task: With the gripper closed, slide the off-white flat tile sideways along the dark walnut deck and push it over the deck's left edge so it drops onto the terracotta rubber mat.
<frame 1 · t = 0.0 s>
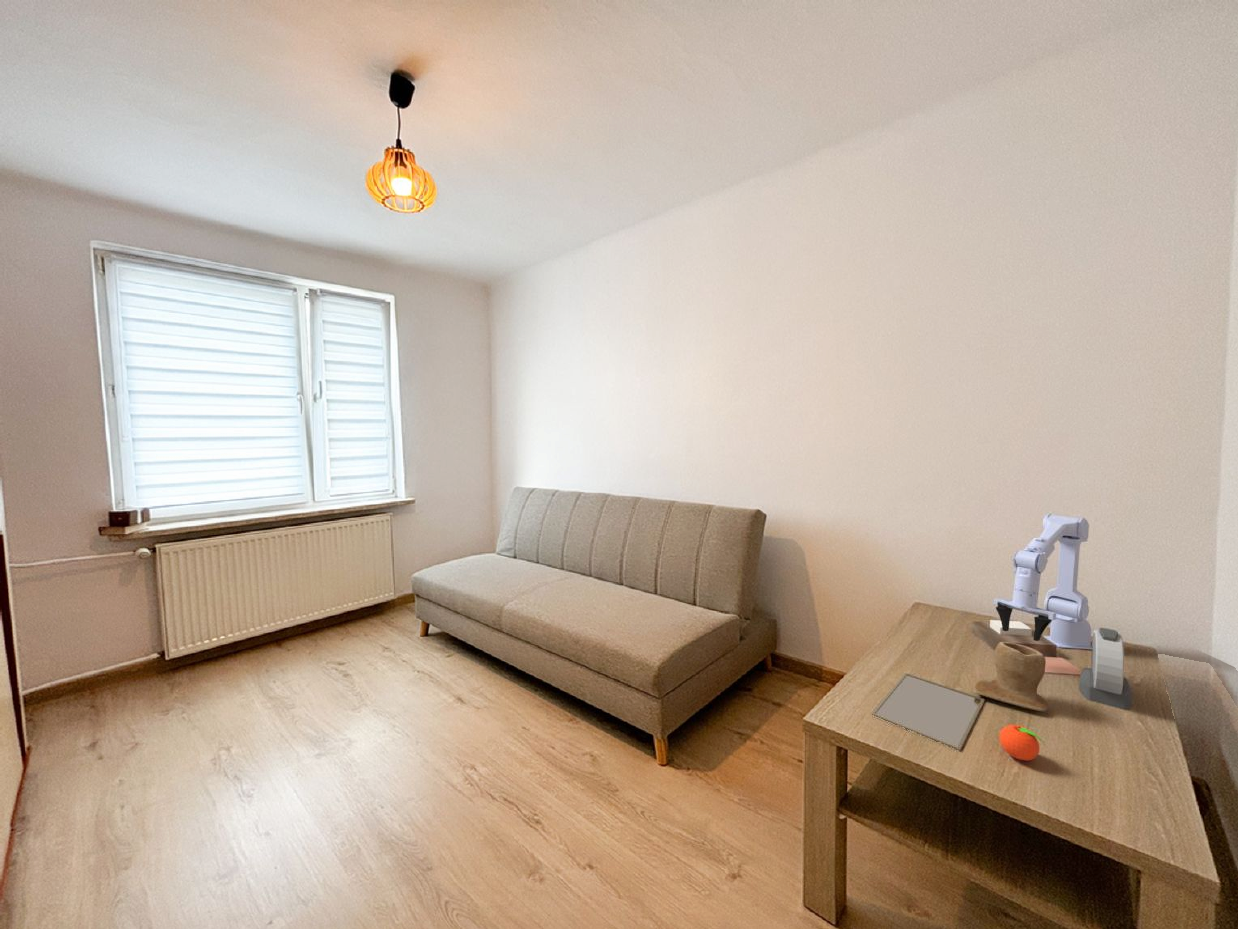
hand: (1020, 635, 142), 11 cm above the table, tool pointing down, fingers open, 7 cm apart
mat: (1039, 664, 144), on the table
picture frame: (928, 710, 125), on the table
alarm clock: (1104, 695, 128), on the table
clementine: (1021, 758, 106), on the table
tile: (1010, 631, 159), point 4 cm above the table, touching deck
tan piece: (1009, 699, 128), on the table
deck: (1011, 644, 158), on the table
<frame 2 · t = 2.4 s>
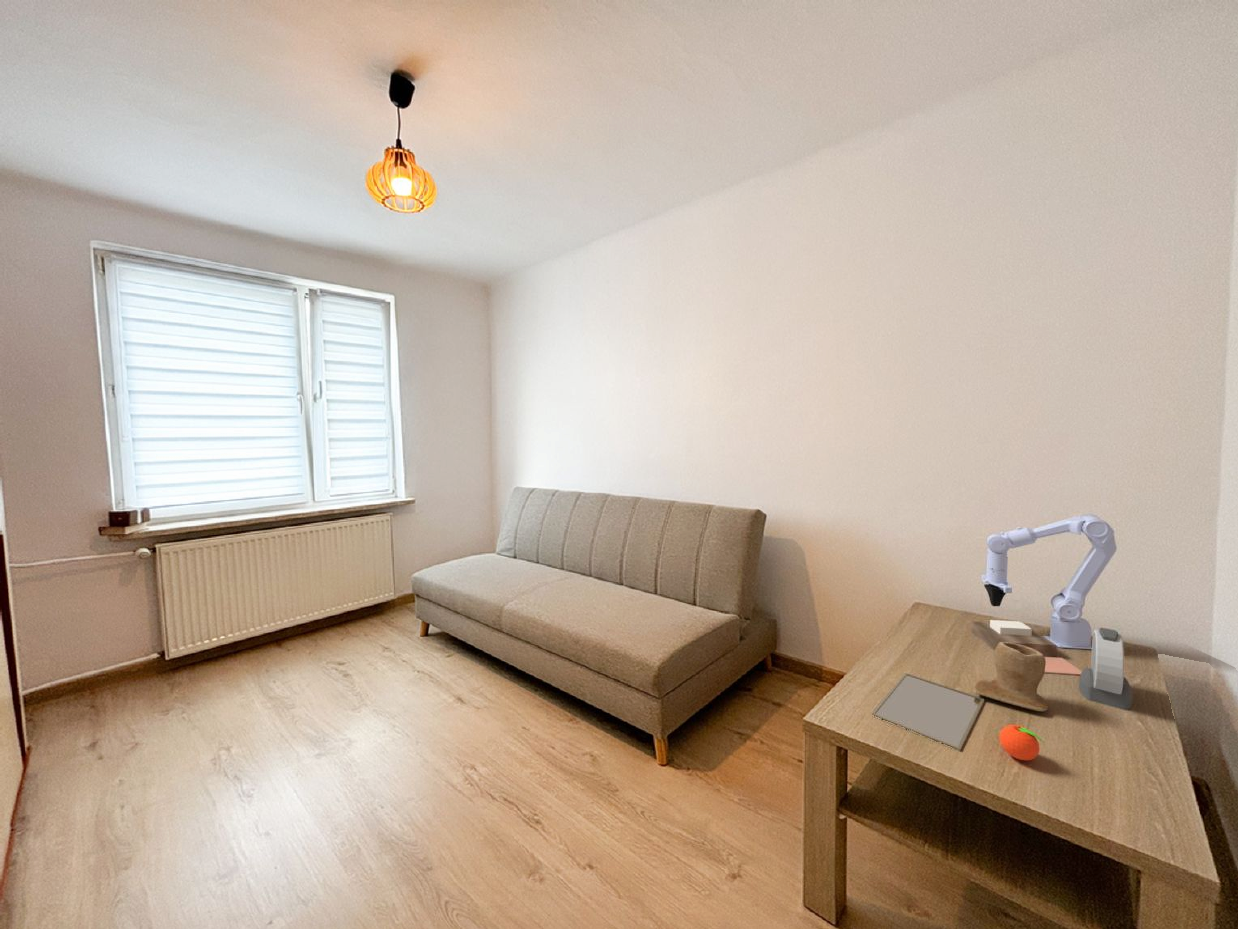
hand: (995, 605, 167), 9 cm above the table, tool pointing down, fingers closed
nothing on the table moved.
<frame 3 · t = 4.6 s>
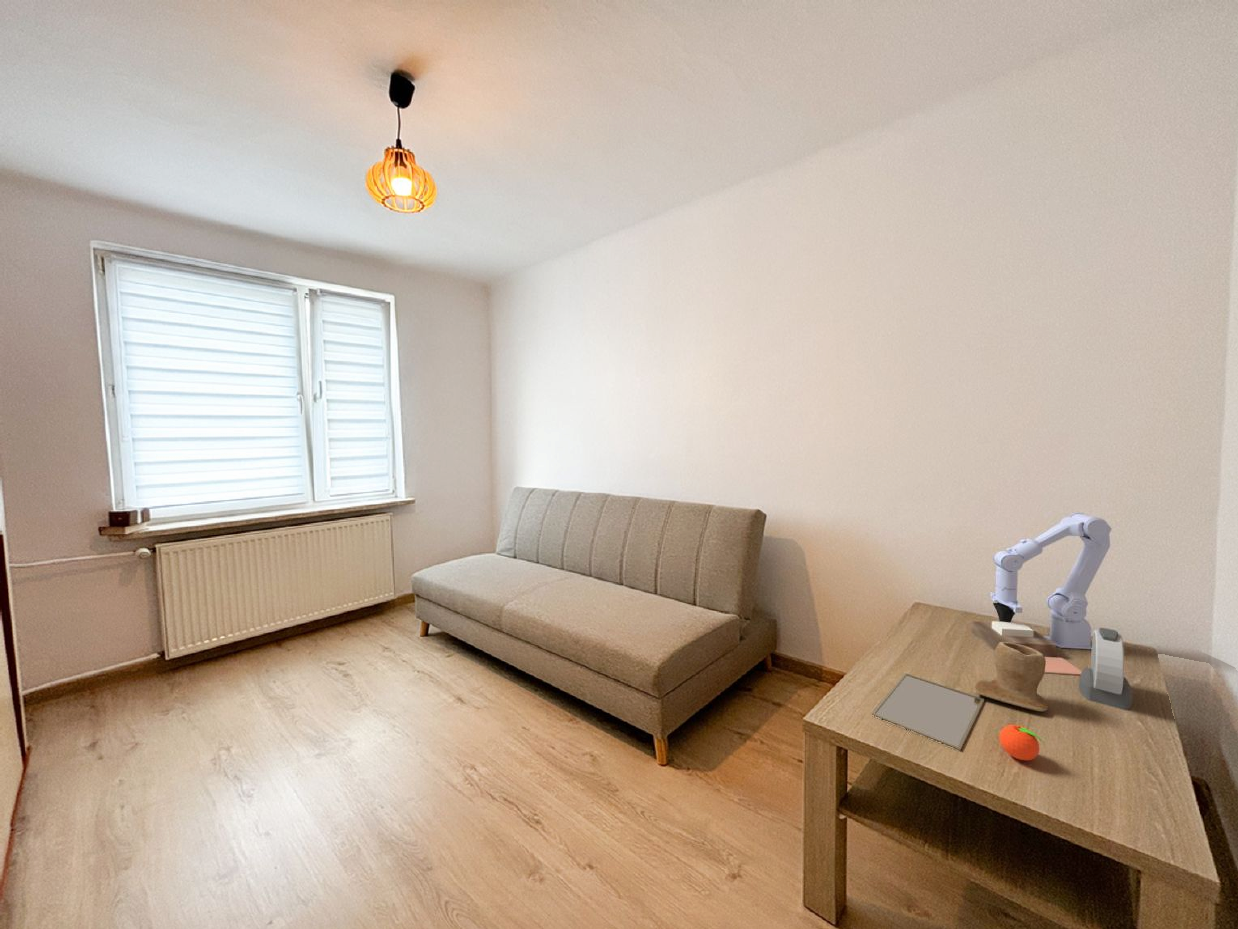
hand: (1004, 625, 162), 5 cm above the table, tool pointing down, fingers closed
tile: (1011, 632, 158), point 4 cm above the table, touching deck, gripper
everything else where it was.
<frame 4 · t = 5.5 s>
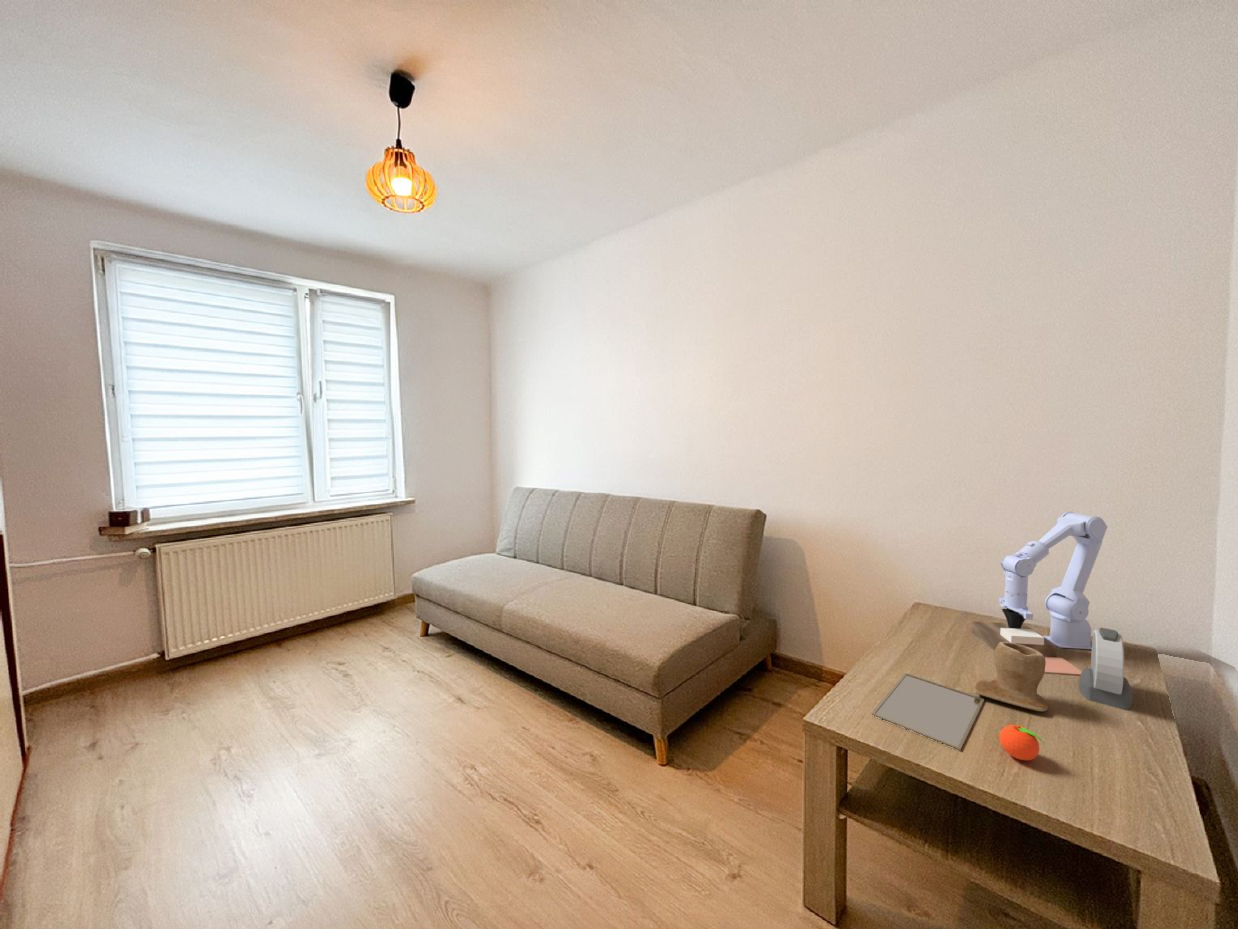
hand: (1014, 631, 157), 5 cm above the table, tool pointing down, fingers closed
tile: (1021, 639, 153), point 4 cm above the table, touching deck, gripper
everything else where it was.
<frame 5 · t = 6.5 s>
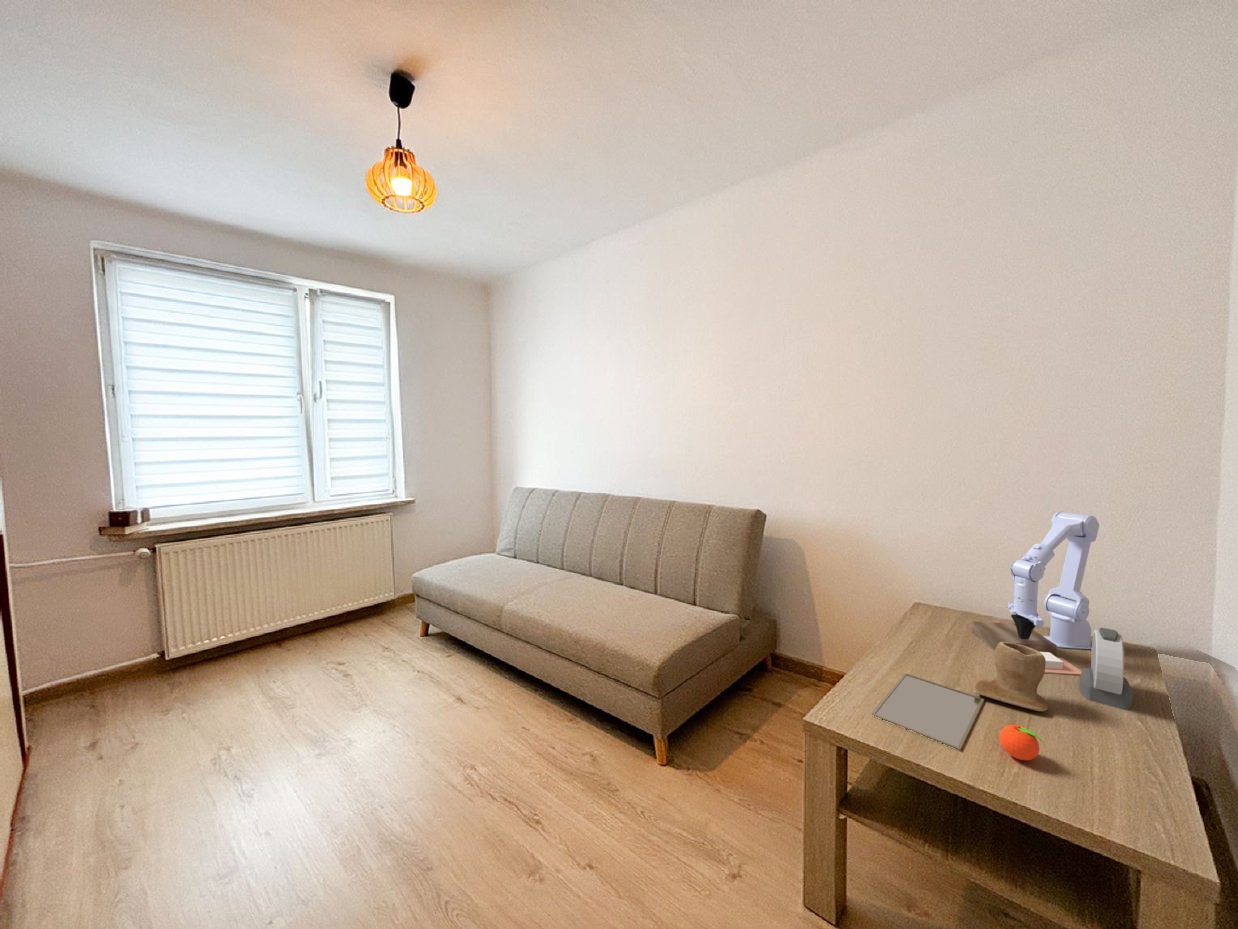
hand: (1023, 638, 152), 5 cm above the table, tool pointing down, fingers closed
tile: (1039, 656, 144), point 3 cm above the table, tilted 180°, touching mat
everything else where it was.
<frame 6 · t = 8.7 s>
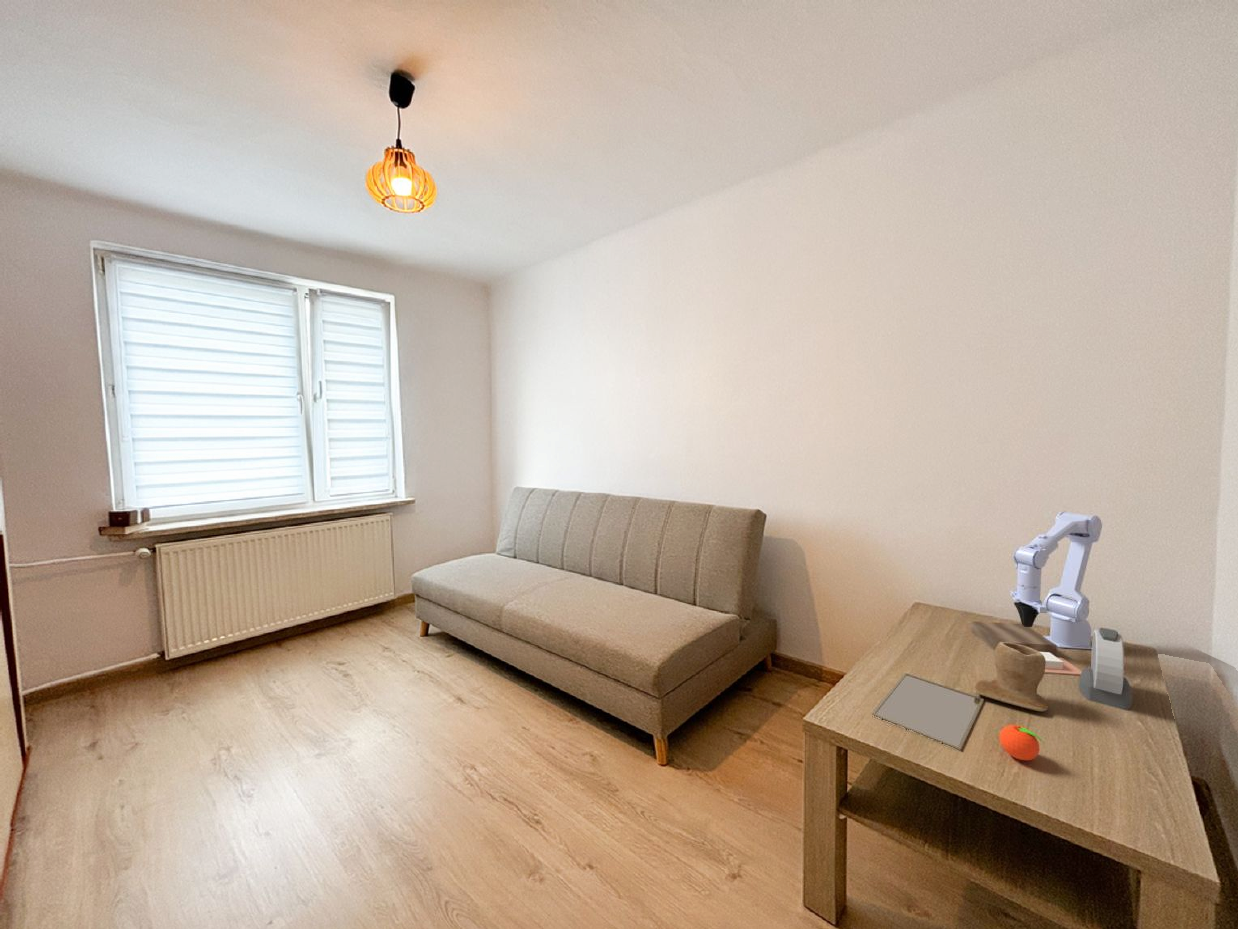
hand: (1026, 626, 150), 9 cm above the table, tool pointing down, fingers closed
nothing on the table moved.
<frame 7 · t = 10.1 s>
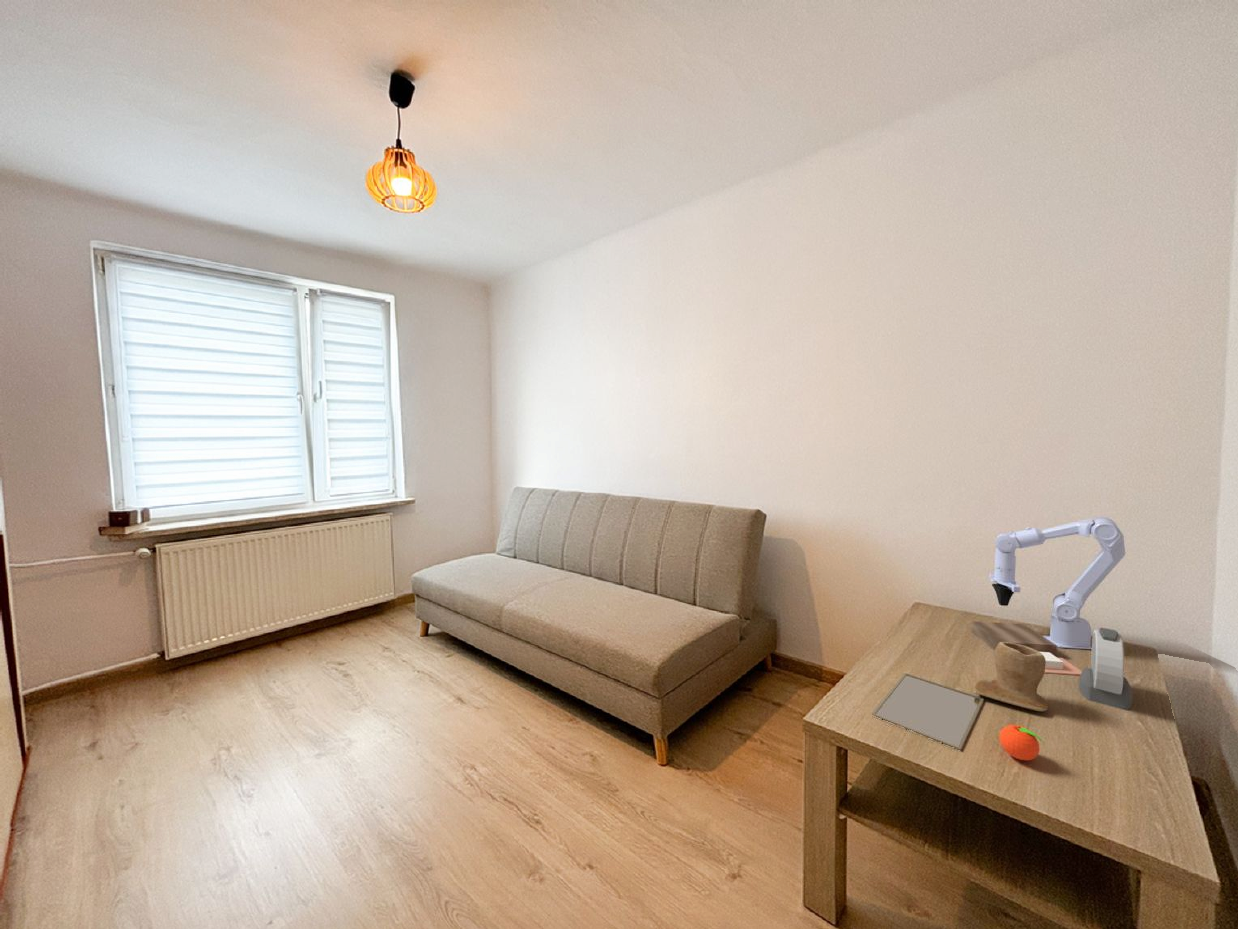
hand: (1003, 605, 167), 9 cm above the table, tool pointing down, fingers closed
nothing on the table moved.
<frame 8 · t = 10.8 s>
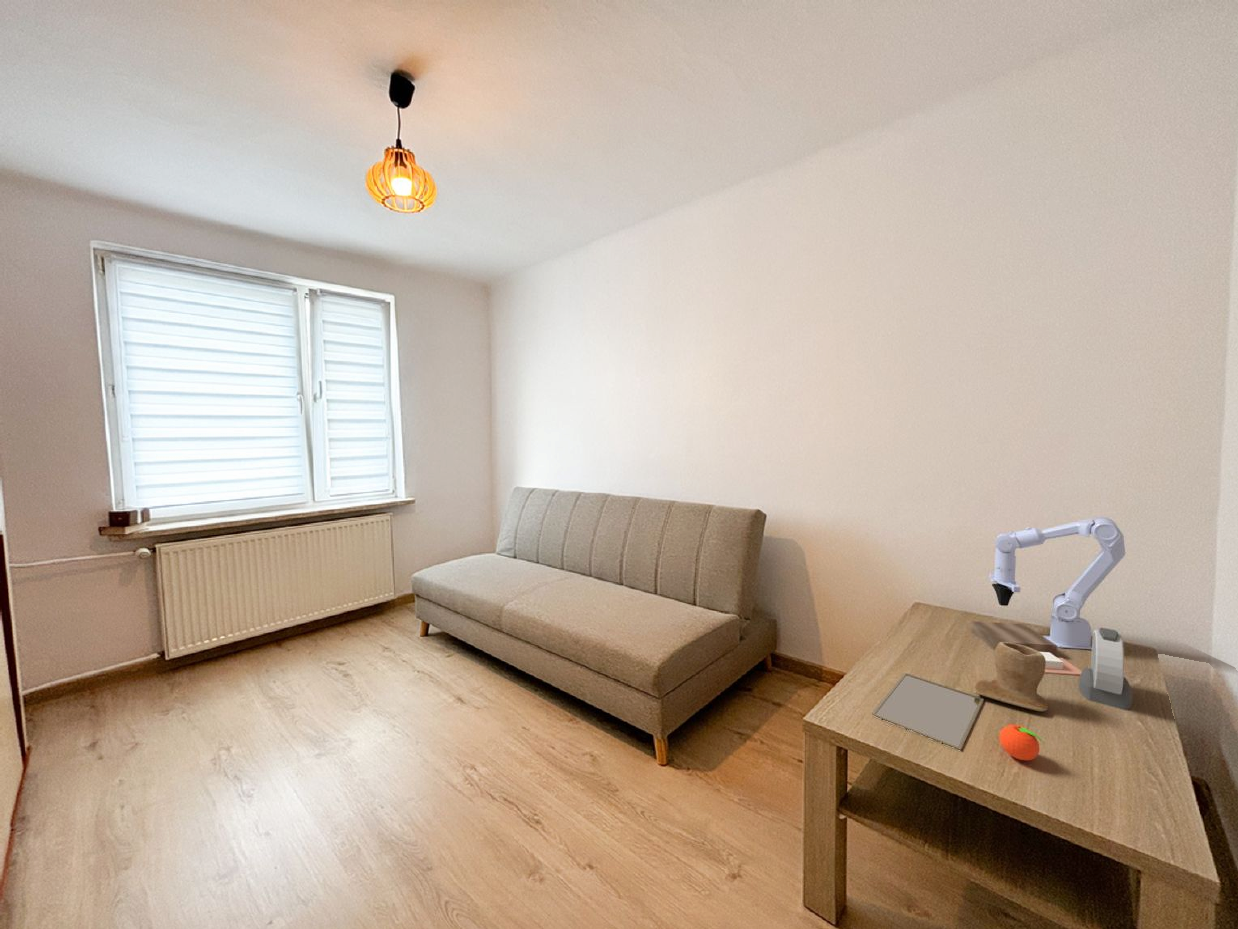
hand: (1003, 605, 167), 9 cm above the table, tool pointing down, fingers closed
nothing on the table moved.
at the end: tile inside the target area (0.4 cm from its centre), point 2.8 cm above the table; tile touching mat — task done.
